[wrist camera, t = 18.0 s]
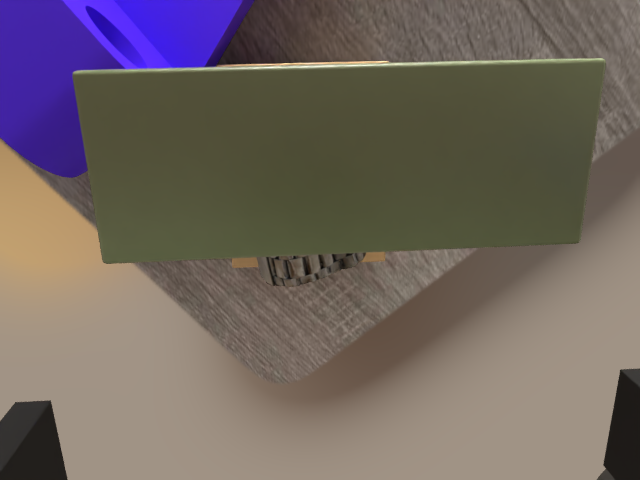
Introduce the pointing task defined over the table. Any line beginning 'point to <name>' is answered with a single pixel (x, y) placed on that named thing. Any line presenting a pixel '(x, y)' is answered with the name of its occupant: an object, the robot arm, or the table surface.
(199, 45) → the bracket
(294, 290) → the table surface
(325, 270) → the wristwatch
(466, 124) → the two-tone angled block
